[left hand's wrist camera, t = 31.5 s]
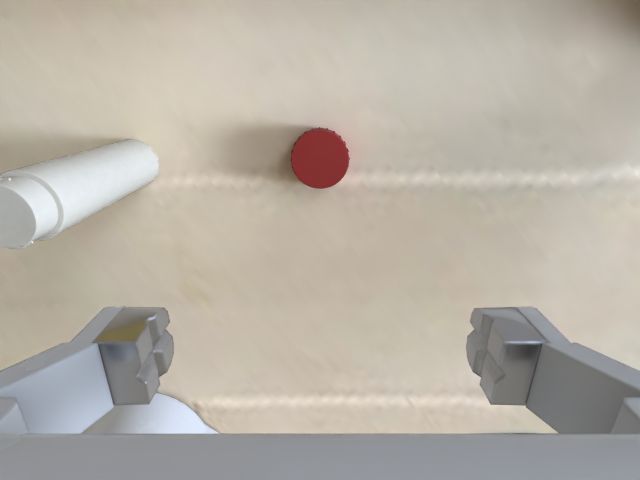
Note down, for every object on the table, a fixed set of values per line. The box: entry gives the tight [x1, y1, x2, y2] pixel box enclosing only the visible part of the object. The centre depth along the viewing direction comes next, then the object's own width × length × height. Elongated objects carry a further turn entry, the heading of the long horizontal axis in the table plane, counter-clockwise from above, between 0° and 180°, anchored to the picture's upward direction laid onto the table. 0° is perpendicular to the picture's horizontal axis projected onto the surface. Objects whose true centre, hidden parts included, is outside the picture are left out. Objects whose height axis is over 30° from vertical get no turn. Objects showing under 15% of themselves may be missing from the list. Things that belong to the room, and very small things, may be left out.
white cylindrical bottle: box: [0, 139, 159, 249], centre depth 28 cm, size 4×4×16 cm
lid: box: [291, 127, 350, 189], centre depth 35 cm, size 5×5×2 cm
